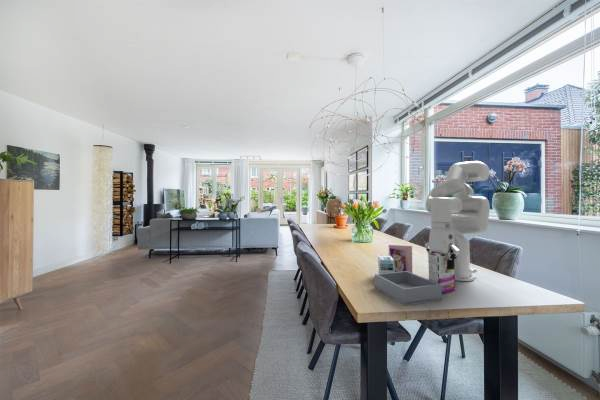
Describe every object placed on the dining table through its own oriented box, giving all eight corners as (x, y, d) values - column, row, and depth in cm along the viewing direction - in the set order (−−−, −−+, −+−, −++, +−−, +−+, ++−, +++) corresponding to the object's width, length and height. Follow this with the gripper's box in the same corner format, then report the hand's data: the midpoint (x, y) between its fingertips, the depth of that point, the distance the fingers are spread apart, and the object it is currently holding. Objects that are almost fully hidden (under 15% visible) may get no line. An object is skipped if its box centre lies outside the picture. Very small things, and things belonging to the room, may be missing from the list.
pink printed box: (387, 273, 136) (387, 245, 136) (396, 270, 140) (396, 243, 140) (407, 278, 126) (406, 248, 126) (416, 276, 130) (415, 246, 130)
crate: (407, 283, 119) (406, 270, 119) (441, 300, 100) (441, 284, 100) (374, 287, 114) (374, 274, 114) (404, 305, 95) (404, 289, 95)
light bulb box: (395, 283, 120) (394, 260, 120) (380, 282, 122) (380, 259, 122) (391, 276, 131) (391, 255, 131) (378, 275, 132) (377, 254, 132)
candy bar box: (444, 286, 114) (444, 250, 114) (455, 290, 110) (455, 252, 110) (428, 291, 109) (427, 252, 109) (439, 295, 105) (438, 255, 105)
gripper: (466, 227, 102) (466, 271, 102) (432, 224, 119) (432, 261, 118) (450, 228, 100) (451, 272, 100) (419, 224, 117) (419, 262, 116)
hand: (441, 266), depth 109 cm, fingers open, 9 cm apart
